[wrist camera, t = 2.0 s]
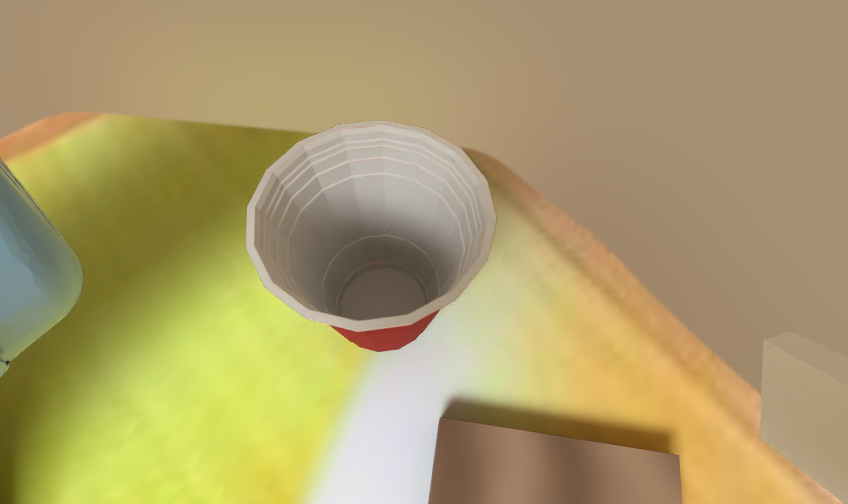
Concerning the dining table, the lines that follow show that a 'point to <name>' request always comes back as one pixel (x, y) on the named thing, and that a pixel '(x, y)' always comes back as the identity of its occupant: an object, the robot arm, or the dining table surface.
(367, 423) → the dining table surface
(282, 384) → the dining table surface
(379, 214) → the plastic cup
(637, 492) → the walnut coaster board
